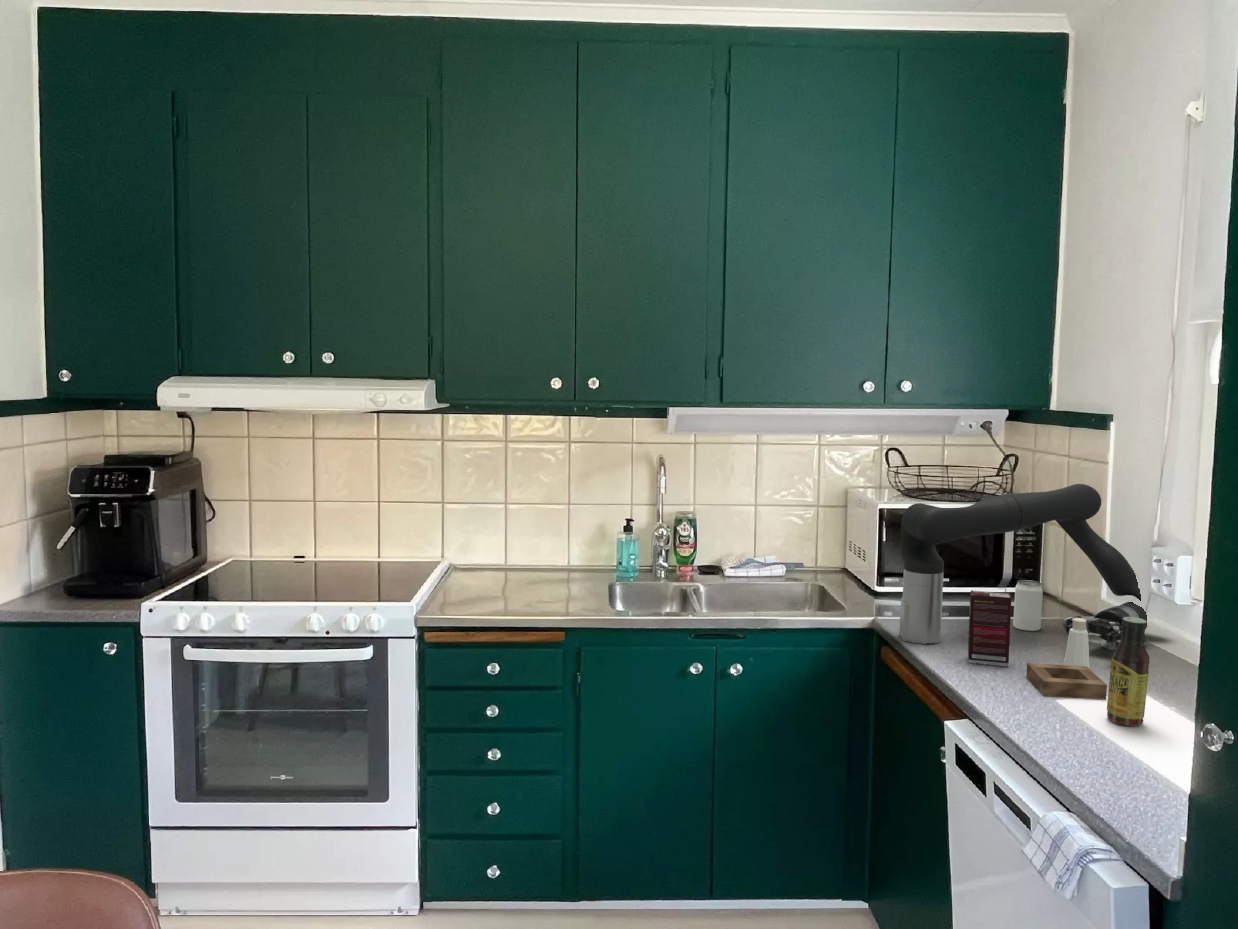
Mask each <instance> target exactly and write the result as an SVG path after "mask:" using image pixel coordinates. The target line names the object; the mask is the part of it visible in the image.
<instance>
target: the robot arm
mask: <svg viewBox="0 0 1238 929" xmlns="http://www.w3.org/2000/svg"><path fill="white" fill-rule="evenodd" d="M1101 506H1102V498H1101V495H1100V494H1099V492H1098V491H1097V490H1096V489H1095V488H1094V487H1092V486H1090V485H1088V484H1084V483H1074V484H1072V485H1068V486H1065V487H1062V488H1058V489H1054V490H1048V491H1037V492H1035V491H1034V492H1033V491H1031V492H1021V493H1020V492H1018V493H1009V494H999V495H993V496H989V497H985V498H982V499H981V500H979V501H977V502H976V503H973V504H970V505H968V506H962V507H939V506H934V505H930V504H927V503H919V502H917V503H913V504H910V505H909V506H908V507H907V508H906V510H905V511H904V513H903V515H902V518H901V524H900V544H901V545H900V553H901V554H900V555H901V557H902V560H903V580H902V582H903V583H902V596H901V598H900V612H899V613H900V615H899V630H898V631H899V634H898V635H899V636H900V638H901V640H902V641H903V642H909V643H914V644H920V643H934V644H938V643H940V642H941V635H942V631H941V629H942V614H943V613H942V611H943V589H944V571H945V562H944V560H943V557H941V555H939V552H938V551H937V549H936V545H942V544H945V543H949V542H952V541H957V540H960V539H963V538H967V537H973V536H985V535H987V536H988V535H994V534H995V535H996V534H997V535H998V534H1004V533H1011V532H1017V531H1021V530H1025V529H1030V528H1033V527H1036V526H1040V525H1042V524H1045V523H1049V522H1052V521H1053V522H1054V521H1055V522H1056V523H1057V524H1058V525H1059V526H1060V528H1061V529H1063V531H1064V532H1065V533H1066V534H1067V535H1068V536H1069V538H1071V539H1072V541H1073V542H1074V544H1076V546H1077V547H1078V548H1080V550H1081V551H1082V552H1083V553H1084V554H1085V555H1086V556H1087V558H1088V560H1090V562H1091V563H1092V565H1093V566H1094V567H1095V568H1096V570H1097V571H1098V573H1099V575H1100V577H1101V578H1102V579H1103V581H1104V582H1105V584H1106V585H1107V587H1108V588H1109V590H1110V591H1111V593H1112V594H1114V596H1117V597H1124V596H1133V597H1134V598H1136V599H1139V600H1140V601H1141V594H1140V589H1139V588H1138V582H1137V579H1136V575H1137V574H1136V572H1135V570H1134V568H1133V567H1132V565H1131V564H1130V563H1129V562H1128V560H1127V559H1126V557H1125V556H1124V555H1123V554H1122V553H1121V552H1120V551H1119V550H1118V549H1117V548H1115V547H1114V546H1112V545H1111V544H1110V543H1109V542H1107V541H1106V540H1104V538H1102V537H1101V536H1100V535H1099V534H1098V533H1096V531H1095V530H1093V528H1091V526H1090V524H1089V523H1088V521H1087V520H1089V519H1091V518H1093V517H1094V516H1095V515H1097V513H1099V511H1100V510H1101ZM1134 572H1135V573H1134ZM1135 574H1136V575H1135ZM1124 617H1136V618H1141V619H1144V620H1146V621H1147V615H1146V612H1145V611H1144V609H1143V608H1142V607H1140V606H1138V605H1136V604H1134V603H1133V602H1129V601H1127V602H1124V603H1122V604H1120V605H1114V606H1112V607H1108V608H1106V609H1103V610H1101V611H1099V612H1098V613H1097V614H1095V615H1094V617H1093V618H1084V619H1085V620H1086V627H1085V628H1086V629H1085V630H1087V632H1088V636H1091V635H1092V636H1096V637H1099V638H1100V639H1102V640H1104V641H1106V642H1105V643H1106V644H1110V645H1111V644H1113V643H1119V642H1120V640H1121V637H1122V619H1123V618H1124ZM1073 618H1082V619H1083V617H1082V616H1080V615H1077V616H1073V617H1069V618H1067V619H1065V632H1066V633H1067V636H1069V631H1070V629H1071V628H1073V621H1072V619H1073Z"/></svg>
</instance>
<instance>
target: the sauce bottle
mask: <svg viewBox="0 0 1238 929" xmlns="http://www.w3.org/2000/svg"><path fill="white" fill-rule="evenodd" d="M1147 628H1148V626H1147V621H1146V620H1144V619H1141V618H1136V617H1124V618H1123V619H1122V637H1121V640H1120V642H1118V645H1117V646H1116V648H1115V651H1114V653H1113V654H1112V657H1111V663H1110V670H1109V671H1110V672H1109V682H1108V690H1107V691H1108V693H1107V702H1106V710H1107V711H1106V715H1107V719H1108V720H1109V722H1113V723H1115V724H1118V725H1119V726H1123V727H1124V726H1125V727H1139V726H1141V725H1143V723H1144V717H1145V711H1146V702H1147V701H1146V700H1147V691H1148V684H1149V683H1148V682H1149V675H1150V674H1149V673H1150V672H1149V664H1150V655H1149V653H1148V651H1147V650H1146V648H1145V635H1146V634H1145V633H1146V630H1147Z"/></svg>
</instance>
